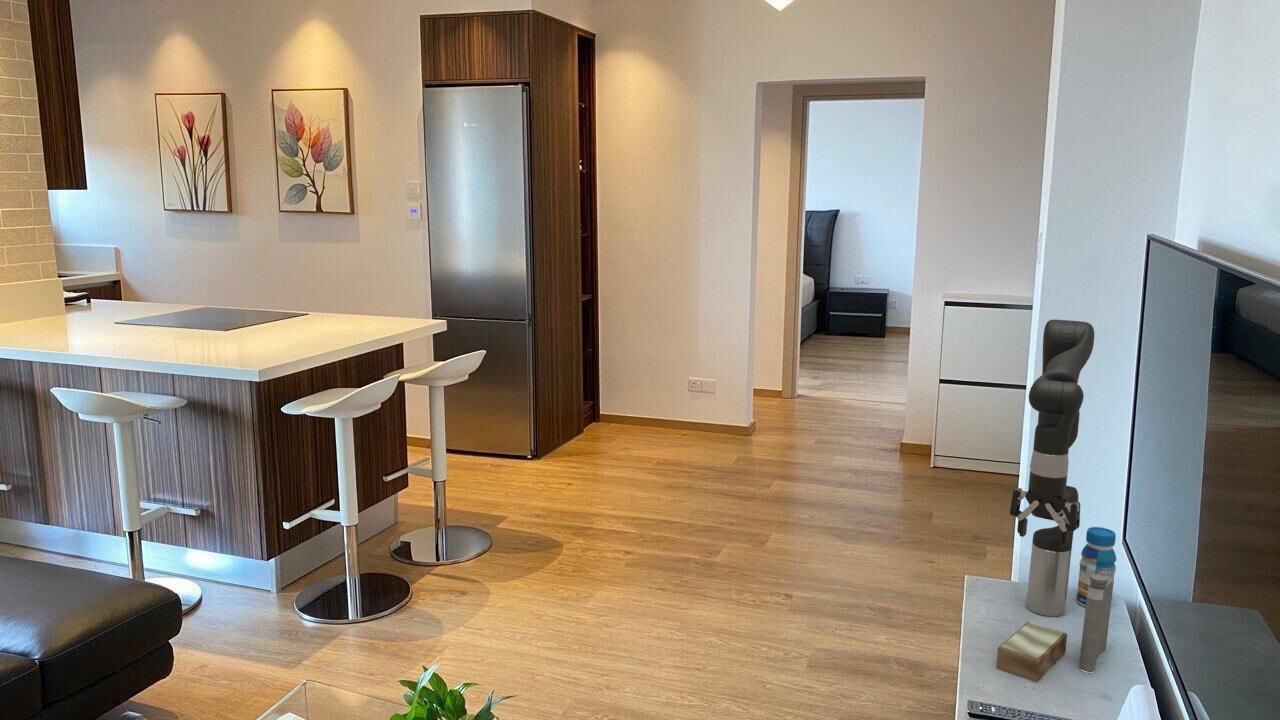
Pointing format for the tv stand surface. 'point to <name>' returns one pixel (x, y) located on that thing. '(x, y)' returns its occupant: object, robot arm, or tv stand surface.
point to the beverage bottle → (1096, 559)
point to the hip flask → (1096, 620)
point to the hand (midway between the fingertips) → (1041, 540)
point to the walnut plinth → (1031, 651)
